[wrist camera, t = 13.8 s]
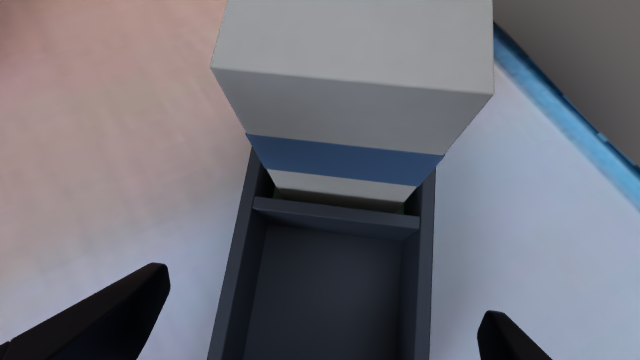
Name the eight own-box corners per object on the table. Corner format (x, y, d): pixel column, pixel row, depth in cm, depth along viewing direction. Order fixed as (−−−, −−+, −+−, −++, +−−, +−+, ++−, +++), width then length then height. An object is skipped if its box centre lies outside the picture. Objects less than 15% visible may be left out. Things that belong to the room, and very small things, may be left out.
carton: (392, 218, 19) (517, 72, 6) (285, 204, 19) (192, 42, 6) (399, 120, 21) (507, -151, 8) (300, 110, 21) (252, -162, 8)
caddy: (418, 108, 22) (439, 62, 17) (401, 409, 17) (426, 453, 12) (284, 94, 22) (272, 47, 18) (230, 381, 17) (195, 413, 13)
